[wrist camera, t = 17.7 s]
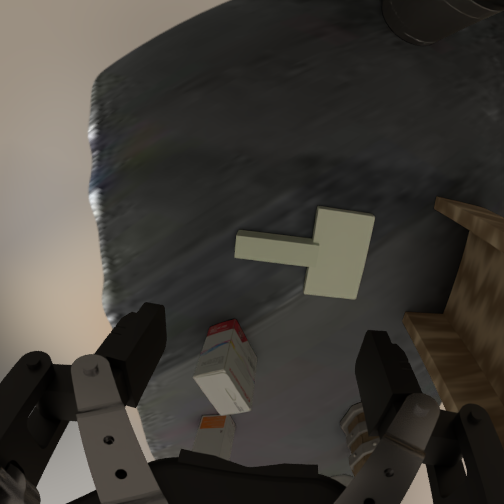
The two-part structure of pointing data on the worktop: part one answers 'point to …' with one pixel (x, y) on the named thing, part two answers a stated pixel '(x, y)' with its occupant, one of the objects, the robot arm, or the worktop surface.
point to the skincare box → (215, 436)
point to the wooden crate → (469, 320)
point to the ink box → (227, 369)
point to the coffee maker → (343, 479)
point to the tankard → (358, 437)
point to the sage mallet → (318, 251)
